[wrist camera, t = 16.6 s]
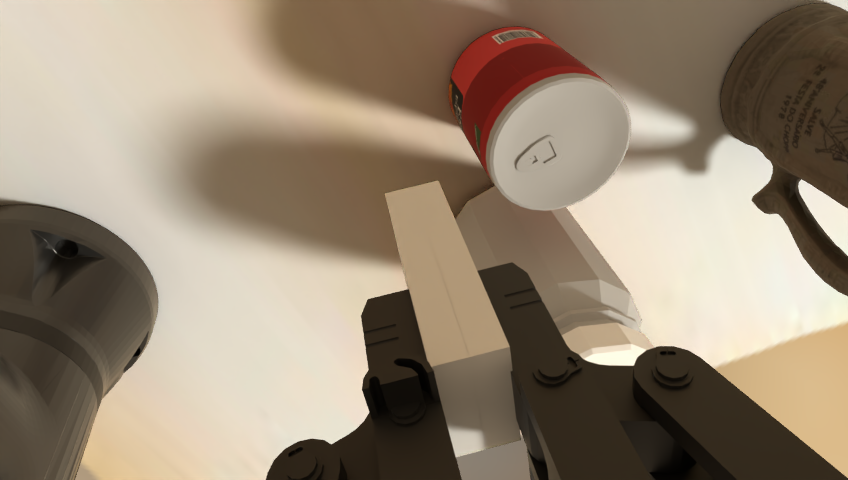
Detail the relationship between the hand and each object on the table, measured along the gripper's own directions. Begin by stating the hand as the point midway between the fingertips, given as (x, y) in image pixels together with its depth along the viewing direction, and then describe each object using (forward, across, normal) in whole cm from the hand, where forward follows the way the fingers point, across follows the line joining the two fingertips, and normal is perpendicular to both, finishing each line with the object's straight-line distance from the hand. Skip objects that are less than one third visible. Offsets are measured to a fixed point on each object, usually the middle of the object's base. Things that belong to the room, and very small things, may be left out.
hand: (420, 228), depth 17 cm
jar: (+25, +8, -18) cm, 32 cm away
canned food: (+25, +9, -6) cm, 27 cm away
